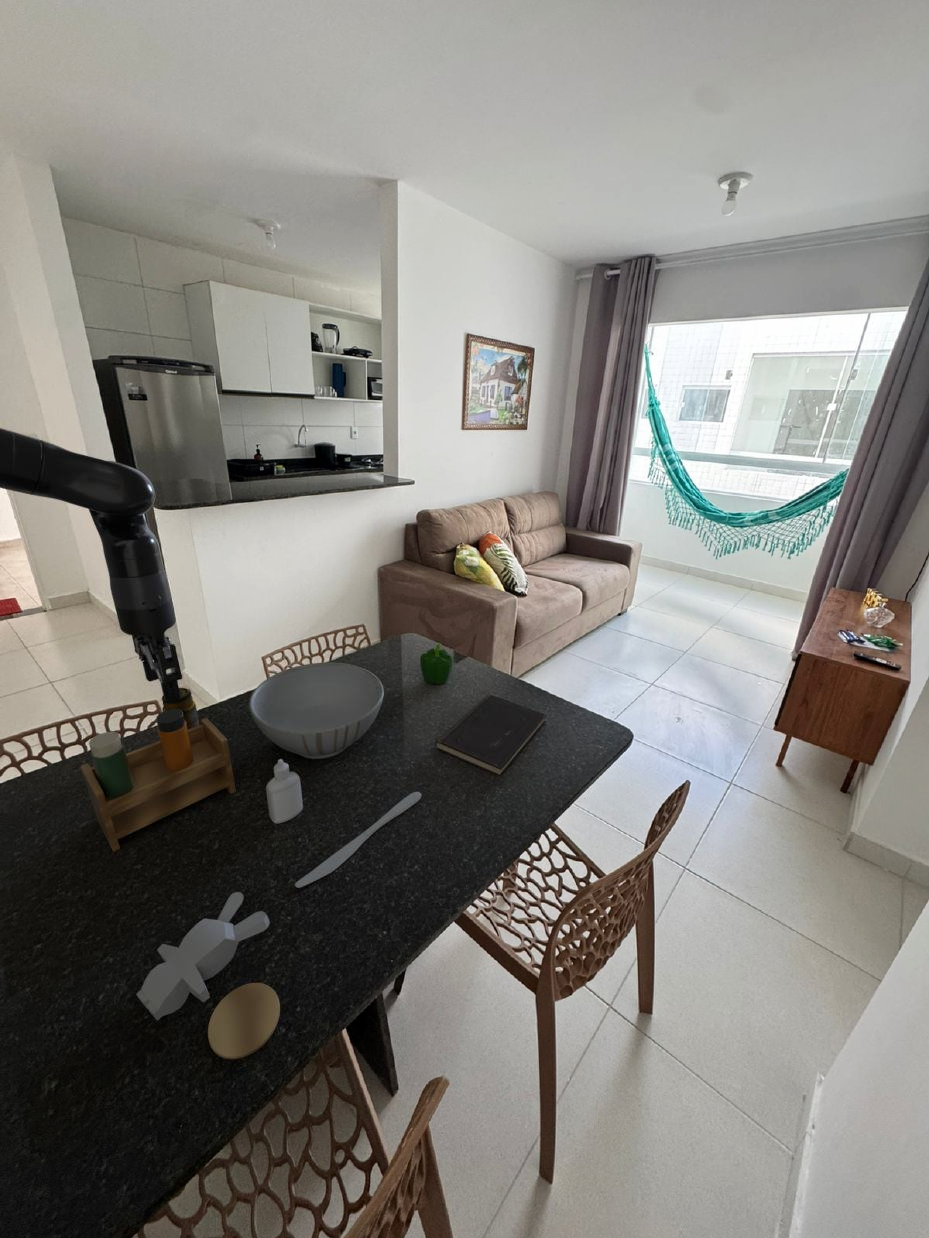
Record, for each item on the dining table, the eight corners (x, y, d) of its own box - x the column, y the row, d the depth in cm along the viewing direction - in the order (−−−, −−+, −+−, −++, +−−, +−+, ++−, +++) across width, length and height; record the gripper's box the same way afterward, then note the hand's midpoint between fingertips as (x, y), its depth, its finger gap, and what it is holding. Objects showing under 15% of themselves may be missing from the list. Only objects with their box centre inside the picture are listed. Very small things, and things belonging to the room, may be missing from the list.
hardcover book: (545, 722, 121) (546, 714, 120) (500, 777, 103) (501, 768, 102) (486, 701, 129) (487, 693, 128) (434, 748, 110) (435, 740, 109)
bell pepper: (439, 692, 131) (440, 657, 127) (414, 681, 135) (414, 648, 131) (457, 678, 138) (459, 645, 134) (433, 669, 142) (434, 637, 138)
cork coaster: (226, 1077, 57) (225, 1074, 56) (197, 1019, 61) (196, 1017, 61) (292, 1020, 62) (292, 1017, 62) (261, 971, 67) (260, 969, 67)
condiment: (189, 728, 113) (180, 681, 108) (216, 740, 109) (208, 692, 104) (158, 746, 107) (147, 697, 102) (186, 759, 103) (175, 710, 98)
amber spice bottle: (171, 774, 88) (160, 726, 84) (162, 762, 91) (150, 715, 87) (197, 763, 91) (188, 716, 87) (188, 751, 94) (178, 705, 90)
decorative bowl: (343, 798, 96) (340, 746, 91) (227, 763, 103) (218, 712, 98) (404, 721, 119) (404, 676, 114) (305, 696, 126) (301, 653, 122)
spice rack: (113, 852, 82) (95, 794, 78) (97, 821, 88) (80, 765, 83) (236, 791, 96) (227, 739, 91) (216, 768, 102) (206, 717, 97)
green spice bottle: (107, 802, 82) (91, 751, 78) (99, 788, 84) (84, 738, 80) (137, 789, 85) (124, 739, 80) (129, 775, 87) (116, 727, 83)
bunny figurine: (119, 973, 62) (228, 876, 73) (133, 994, 65) (237, 898, 75) (162, 1023, 57) (271, 912, 68) (175, 1044, 60) (279, 933, 71)
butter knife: (426, 797, 96) (415, 788, 98) (302, 893, 77) (291, 881, 79) (426, 799, 96) (415, 791, 98) (302, 896, 77) (291, 883, 79)
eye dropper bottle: (303, 820, 90) (297, 766, 86) (269, 825, 89) (261, 771, 84) (303, 802, 94) (297, 750, 89) (271, 807, 93) (263, 754, 88)
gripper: (101, 591, 80) (124, 680, 86) (130, 619, 71) (153, 716, 78) (154, 580, 85) (172, 666, 92) (187, 606, 76) (204, 698, 83)
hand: (163, 689), depth 85 cm, fingers open, 8 cm apart
